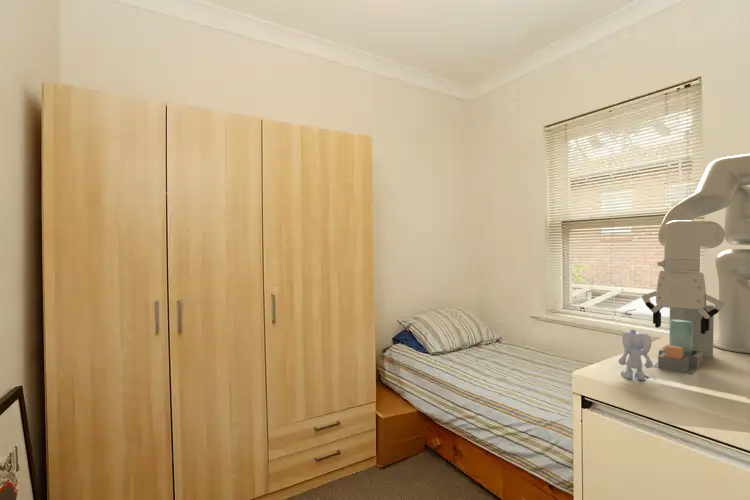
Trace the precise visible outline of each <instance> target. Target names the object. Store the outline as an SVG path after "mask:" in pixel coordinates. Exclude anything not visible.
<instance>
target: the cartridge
mask: <svg viewBox="0 0 750 500" xmlns="http://www.w3.org/2000/svg"><path fill="white" fill-rule="evenodd" d="M669 345H673V346H679V347H683V354H687V355H692V348H693V322H691V321H686V320H670V319H669Z"/></svg>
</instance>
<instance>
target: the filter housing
mask: <svg viewBox="0 0 750 500" xmlns="http://www.w3.org/2000/svg"><path fill="white" fill-rule="evenodd" d="M665 346H666V345H664V346H663V347H661V348H660V349H659V350H658V356H657V357H658V359H657V362H656V363H655V364H653V366H652V367H651V368H655V369H659V370H665V371H670V372H675V373H680V374H685V375H690V376H693V375H694V373H695V372H696V370H698V369H699V367H701V365H702V364H703V356H702V355H703V351H697V350H692V355H687V354H683V359H682V360H680V359H674V358H669V357H665Z"/></svg>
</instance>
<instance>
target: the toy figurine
mask: <svg viewBox="0 0 750 500" xmlns="http://www.w3.org/2000/svg"><path fill="white" fill-rule="evenodd" d="M621 340H622V345H623V348H624V350H623V355H622V356H621V357H620V358H619V359H618V360H617V361H618V363H619V365H621V366H625V365H626V368H625V369H623V370H621V372H620V375H621V376H622V377H623V378H625V379H628V380H632V379H633V378H634V377H635V378H636V380H638V381H642V382H643V381H644V382H645V380H646V374H645V373H644V371H643V369H642V368H643V361H642V360H643V359H642V358H641V356H643V357H644V358H645V363H644V367H645V368H646V369H651V368H653V367H652V366H654V364H653V361H652V359H651V358H650V357H649V355H648V353H650V350H651V348H652V339H651V336H650V335H649V334H648V333H646V332H638V331H636V330H635V329H633V328H632V329H630V330H629V331H623V332H622V339H621ZM633 369H635V371H636V372H635V373H633ZM633 375H634V376H633Z"/></svg>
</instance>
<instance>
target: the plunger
mask: <svg viewBox="0 0 750 500" xmlns="http://www.w3.org/2000/svg"><path fill="white" fill-rule="evenodd" d="M664 346H665V357H669V358H674V359H680V360H682V359H683V347H679V346H673V345H670V344H667V345H664Z"/></svg>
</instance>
